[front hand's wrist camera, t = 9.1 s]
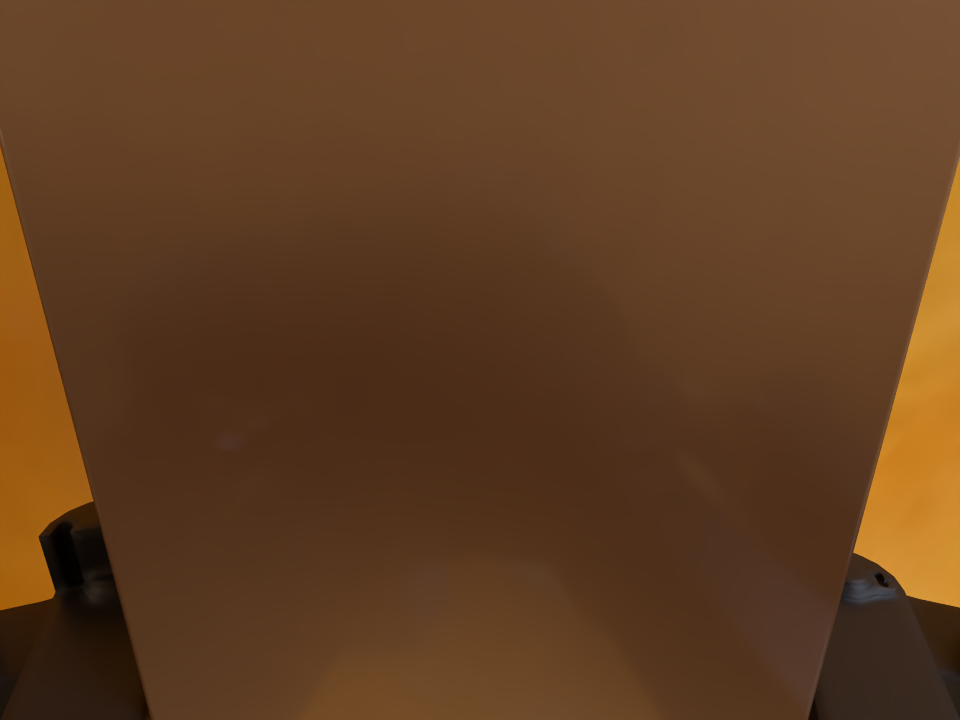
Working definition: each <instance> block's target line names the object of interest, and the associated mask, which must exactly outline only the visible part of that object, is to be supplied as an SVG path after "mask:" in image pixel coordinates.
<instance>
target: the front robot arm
mask: <svg viewBox="0 0 960 720" xmlns="http://www.w3.org/2000/svg"><path fill="white" fill-rule="evenodd" d="M39 540H40V543H41V546H42V549H43V552H44V556H45V559H46V562H47V565H48V569H49V572H50V575H51V578H52V581H53V585H54V588H55V591H56V592H55V595H54V597H53V599H49V600H46V601H42V602H38V603H33V604H28V605H24V606H19V607H14V608H10V609H5V610H0V720H151V717H150V713H149V709H148V705H147V702H146V698H145V694H144V690H143V686H142V683H141V679H140V675H139V671H138V667H137V664H136V660H135V656H134V652H133V648H132V645H131V641H130V637H129V633H128V629H127V626H126V622H125V618H124V614H123V610H122V607H121V603H120V599H119V595H118V591H117V588H116V584H115V580H114V576H113V572H112V569H111V565H110V561H109V557H108V553H107V550H106V546H105V542H104V538H103V534H102V531H101V527H100V523H99V519H98V515H97V512H96V508H95V504H94V502H90V503H87V504H85V505H82V506H80V507H78V508H75V509H73V510H70V511H68V512H66V513H65V514H63V515H62V516H60V517H59V518H57V519H56V520H54V521H53V522H51V523H50V524H49V525H48V526H47V527H46V529H45V530H44V531H43V532H42V533H41V534H40V536H39ZM808 720H960V608H959V607H954V606H949V605H945V604H940V603H935V602H931V601H926V600H921V599H917V598H914V597H910V596H906V593H905V591H904V590H903V588H902V587H901V586H900V584H899V583H898V581H897V580H896V579H895V577H894V576H892V575H891V574H890V573H889V572H887V571H886V570H885V569H883V568H882V567H881V566H879V565H878V564H876V563H874V562H872V561H870V560H868V559H866V558H864V557H862V556H860V555H858V554H855V553H853V554H852V558H851V562H850V565H849V569H848V573H847V577H846V580H845V584H844V588H843V591H842V595H841V599H840V603H839V606H838V610H837V614H836V617H835V621H834V625H833V629H832V632H831V636H830V640H829V643H828V647H827V651H826V654H825V658H824V662H823V666H822V669H821V673H820V677H819V680H818V684H817V688H816V692H815V695H814V699H813V703H812V706H811V710H810V714H809V718H808Z"/></svg>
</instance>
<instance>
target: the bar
mask: <svg viewBox="0 0 960 720" xmlns="http://www.w3.org/2000/svg"><path fill="white" fill-rule="evenodd" d="M0 147H1V150H2V154H3V158H4V162H5V166H6V169H7V173H8V177H9V181H10V185H11V188H12V192H13V196H14V200H15V204H16V207H17V211H18V215H19V219H20V223H21V226H22V230H23V234H24V238H25V242H26V245H27V249H28V253H29V257H30V261H31V264H32V268H33V272H34V276H35V280H36V283H37V287H38V291H39V295H40V299H41V302H42V306H43V310H44V314H45V318H46V321H47V325H48V329H49V333H50V337H51V341H52V344H53V348H54V352H55V356H56V360H57V363H58V367H59V371H60V375H61V379H62V382H63V386H64V390H65V394H66V398H67V401H68V405H69V409H70V413H71V417H72V420H73V424H74V428H75V432H76V436H77V439H78V443H79V447H80V451H81V455H82V458H83V462H84V466H85V470H86V474H87V477H88V481H89V485H90V489H91V493H92V496H93V500H94V504H95V508H96V512H97V515H98V519H99V523H100V527H101V531H102V534H103V538H104V542H105V546H106V550H107V553H108V557H109V561H110V565H111V569H112V572H113V576H114V580H115V584H116V588H117V591H118V595H119V599H120V603H121V607H122V610H123V614H124V618H125V622H126V626H127V629H128V633H129V637H130V641H131V645H132V648H133V652H134V656H135V660H136V664H137V667H138V671H139V675H140V679H141V683H142V686H143V690H144V694H145V698H146V702H147V705H148V709H149V713H150V717H151V720H808V718H809V714H810V710H811V706H812V703H813V699H814V695H815V692H816V688H817V684H818V680H819V677H820V673H821V669H822V666H823V662H824V658H825V654H826V651H827V647H828V643H829V640H830V636H831V632H832V629H833V625H834V621H835V617H836V614H837V610H838V606H839V603H840V599H841V595H842V591H843V588H844V584H845V580H846V577H847V573H848V569H849V565H850V562H851V558H852V554H853V551H854V547H855V543H856V539H857V536H858V532H859V528H860V525H861V521H862V517H863V513H864V510H865V506H866V502H867V499H868V495H869V491H870V487H871V484H872V480H873V476H874V473H875V469H876V465H877V462H878V458H879V454H880V450H881V447H882V443H883V439H884V436H885V432H886V428H887V424H888V421H889V417H890V413H891V410H892V406H893V402H894V398H895V395H896V391H897V387H898V384H899V380H900V376H901V372H902V369H903V365H904V361H905V358H906V354H907V350H908V346H909V343H910V339H911V335H912V332H913V328H914V324H915V321H916V317H917V313H918V309H919V306H920V302H921V298H922V295H923V291H924V287H925V283H926V280H927V276H928V272H929V269H930V265H931V261H932V257H933V254H934V250H935V246H936V243H937V239H938V235H939V231H940V228H941V224H942V220H943V217H944V213H945V209H946V205H947V202H948V198H949V194H950V191H951V187H952V183H953V180H954V176H955V172H956V168H957V165H958V161H959V157H960V0H0Z"/></svg>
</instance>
